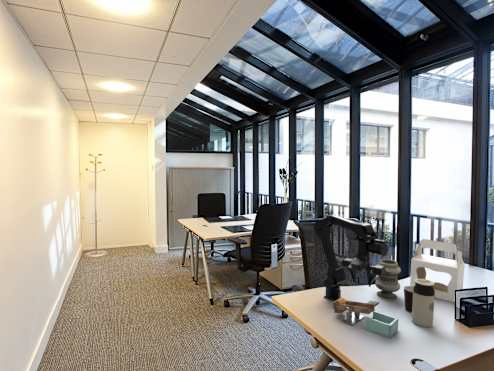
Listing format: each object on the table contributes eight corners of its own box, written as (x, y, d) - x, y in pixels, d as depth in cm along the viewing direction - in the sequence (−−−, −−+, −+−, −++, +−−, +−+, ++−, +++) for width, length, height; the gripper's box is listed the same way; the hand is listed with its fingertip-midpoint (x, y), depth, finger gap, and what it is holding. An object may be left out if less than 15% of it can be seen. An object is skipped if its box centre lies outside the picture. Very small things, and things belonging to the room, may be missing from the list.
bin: (364, 329, 131) (365, 317, 131) (373, 322, 137) (373, 310, 137) (389, 338, 124) (390, 325, 124) (397, 330, 130) (398, 318, 130)
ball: (338, 307, 142) (335, 299, 142) (341, 305, 144) (339, 297, 145) (345, 306, 139) (342, 298, 140) (348, 304, 142) (346, 296, 143)
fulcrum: (341, 321, 137) (342, 307, 136) (353, 313, 145) (353, 299, 144) (352, 326, 133) (353, 310, 133) (364, 317, 141) (364, 303, 141)
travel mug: (407, 320, 140) (409, 279, 139) (421, 317, 143) (423, 277, 142) (423, 328, 132) (425, 285, 131) (437, 326, 135) (439, 283, 134)
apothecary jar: (376, 298, 163) (377, 263, 162) (372, 290, 174) (374, 257, 173) (402, 301, 160) (404, 265, 159) (397, 292, 171) (398, 259, 170)
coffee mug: (412, 315, 145) (413, 293, 144) (398, 307, 153) (399, 286, 152) (433, 312, 148) (434, 291, 147) (418, 305, 156) (419, 284, 155)
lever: (333, 313, 142) (332, 302, 142) (349, 303, 152) (347, 293, 153) (369, 319, 131) (368, 307, 131) (383, 308, 141) (381, 297, 142)
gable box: (463, 296, 169) (466, 243, 167) (456, 303, 159) (460, 247, 158) (417, 284, 185) (419, 236, 183) (409, 290, 175) (411, 239, 174)
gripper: (336, 250, 148) (334, 283, 149) (377, 258, 135) (375, 295, 136) (347, 246, 156) (346, 277, 157) (387, 254, 143) (385, 288, 144)
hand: (361, 284), depth 148 cm, fingers open, 7 cm apart
